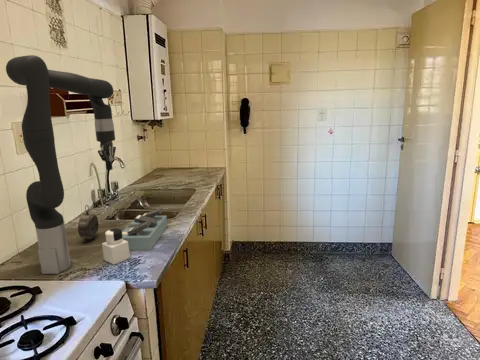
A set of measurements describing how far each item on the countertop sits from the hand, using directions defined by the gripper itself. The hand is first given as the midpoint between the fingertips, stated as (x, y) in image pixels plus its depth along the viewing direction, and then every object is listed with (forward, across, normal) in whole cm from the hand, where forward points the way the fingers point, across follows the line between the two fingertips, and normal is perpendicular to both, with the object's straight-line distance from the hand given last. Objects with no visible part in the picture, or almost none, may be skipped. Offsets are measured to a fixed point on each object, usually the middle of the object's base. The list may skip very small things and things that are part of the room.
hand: (109, 169), depth 150 cm
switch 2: (+23, -1, -14) cm, 27 cm away
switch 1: (+23, +8, -14) cm, 28 cm away
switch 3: (+23, -10, -15) cm, 29 cm away
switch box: (+31, -1, -13) cm, 34 cm away
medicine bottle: (+32, -22, -9) cm, 40 cm away
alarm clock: (+32, -3, +11) cm, 33 cm away
